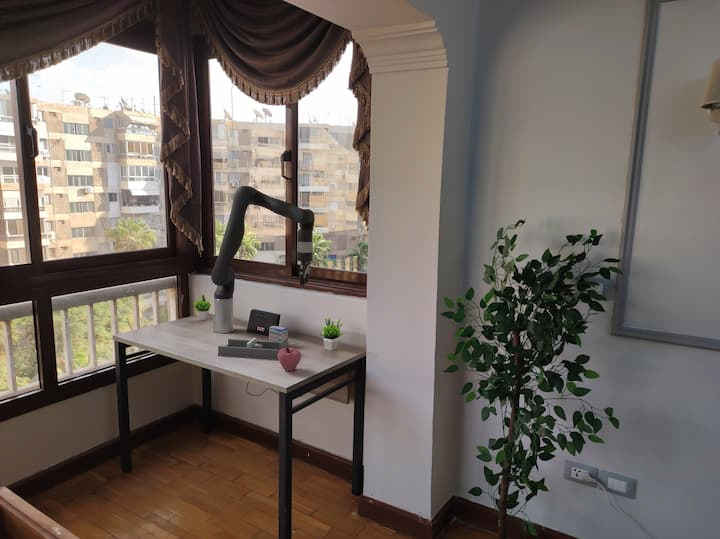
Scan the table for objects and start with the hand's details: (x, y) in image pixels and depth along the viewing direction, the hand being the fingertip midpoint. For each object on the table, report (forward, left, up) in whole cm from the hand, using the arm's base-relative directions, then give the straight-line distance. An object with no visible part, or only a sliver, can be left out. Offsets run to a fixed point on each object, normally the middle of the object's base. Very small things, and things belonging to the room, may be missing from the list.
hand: (304, 284), depth 257 cm
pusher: (-14, -29, -26) cm, 41 cm away
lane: (-15, -29, -27) cm, 42 cm away
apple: (+5, -47, -27) cm, 54 cm away
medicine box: (-9, -15, -27) cm, 32 cm away
